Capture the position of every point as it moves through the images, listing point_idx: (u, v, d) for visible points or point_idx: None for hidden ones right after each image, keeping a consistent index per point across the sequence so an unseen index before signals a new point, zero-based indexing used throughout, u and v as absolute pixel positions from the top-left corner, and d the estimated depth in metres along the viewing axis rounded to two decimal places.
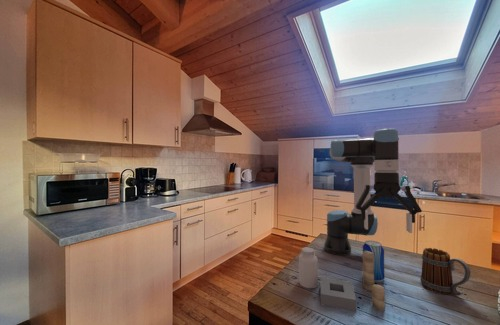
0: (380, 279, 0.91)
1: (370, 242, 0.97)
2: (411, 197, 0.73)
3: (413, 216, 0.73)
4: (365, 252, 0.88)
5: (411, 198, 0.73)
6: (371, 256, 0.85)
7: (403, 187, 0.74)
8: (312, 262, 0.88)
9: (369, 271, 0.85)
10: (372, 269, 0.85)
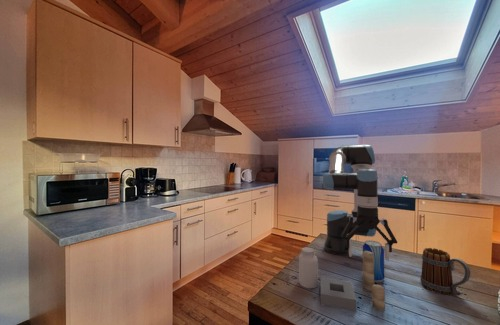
0: (380, 279, 0.91)
1: (370, 242, 0.97)
2: (388, 230, 0.84)
3: (390, 246, 0.84)
4: (365, 252, 0.88)
5: (388, 230, 0.84)
6: (371, 256, 0.85)
7: (382, 220, 0.85)
8: (312, 262, 0.88)
9: (368, 271, 0.85)
10: (372, 269, 0.85)
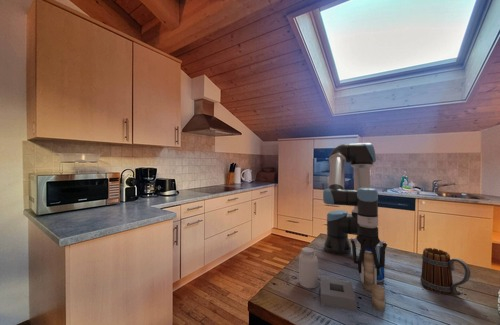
0: (380, 279, 0.91)
1: None
2: (383, 253, 0.84)
3: (378, 270, 0.85)
4: (365, 252, 0.88)
5: (382, 254, 0.84)
6: (371, 256, 0.85)
7: (381, 242, 0.85)
8: (312, 262, 0.88)
9: (369, 271, 0.85)
10: (372, 269, 0.85)
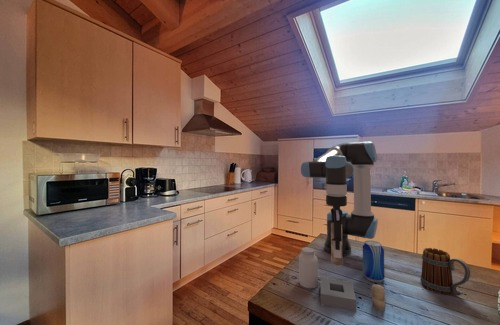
0: (380, 279, 0.91)
1: (370, 242, 0.97)
2: (334, 225, 0.77)
3: (335, 243, 0.79)
4: None
5: (334, 226, 0.77)
6: (331, 226, 0.81)
7: (336, 214, 0.77)
8: (312, 262, 0.88)
9: (331, 240, 0.82)
10: None
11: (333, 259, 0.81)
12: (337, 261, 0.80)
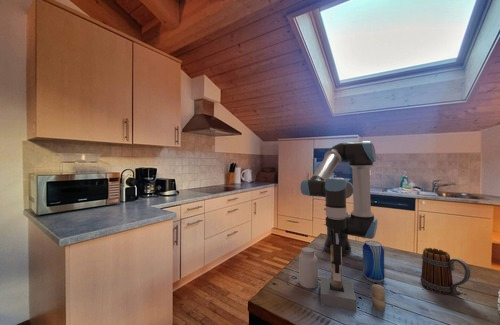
0: (380, 279, 0.91)
1: (370, 242, 0.97)
2: (333, 248, 0.77)
3: (335, 266, 0.79)
4: None
5: (333, 249, 0.77)
6: (331, 248, 0.81)
7: (335, 238, 0.77)
8: (312, 262, 0.88)
9: None
10: None
11: (333, 282, 0.81)
12: (337, 284, 0.80)
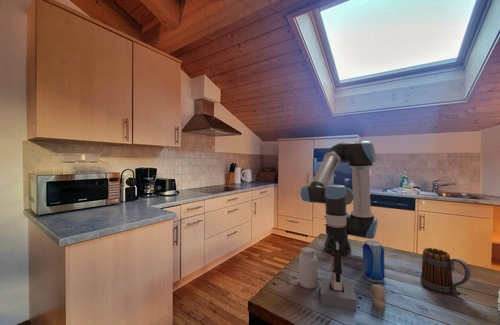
0: (380, 279, 0.91)
1: (370, 242, 0.97)
2: (334, 255, 0.76)
3: (335, 275, 0.75)
4: None
5: (334, 256, 0.76)
6: (331, 261, 0.81)
7: (336, 244, 0.77)
8: (312, 262, 0.88)
9: (331, 275, 0.82)
10: (332, 275, 0.81)
11: None
12: None
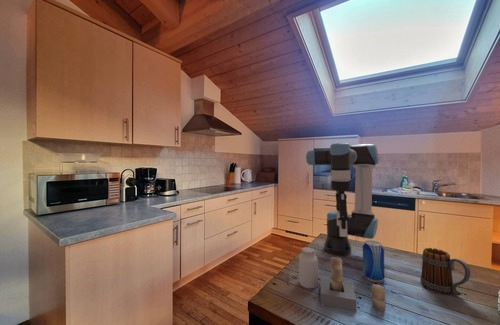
0: (380, 279, 0.91)
1: (370, 242, 0.97)
2: (339, 205, 0.81)
3: (341, 222, 0.80)
4: (336, 258, 0.83)
5: (339, 205, 0.81)
6: (331, 261, 0.81)
7: None
8: (312, 262, 0.88)
9: (331, 275, 0.82)
10: (332, 275, 0.81)
11: None
12: None
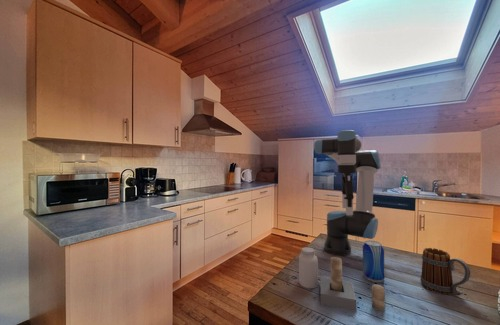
0: (380, 279, 0.91)
1: (370, 242, 0.97)
2: (346, 185, 0.89)
3: (347, 201, 0.88)
4: (336, 258, 0.83)
5: (346, 186, 0.89)
6: (331, 261, 0.81)
7: None
8: (312, 262, 0.88)
9: None
10: (332, 275, 0.81)
11: None
12: None
